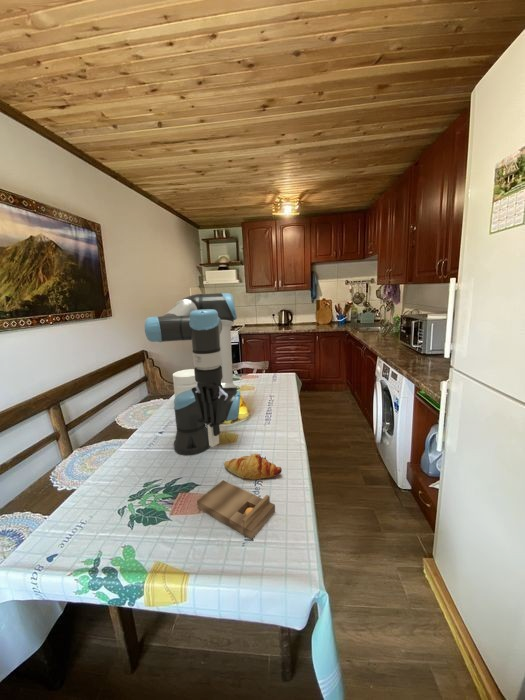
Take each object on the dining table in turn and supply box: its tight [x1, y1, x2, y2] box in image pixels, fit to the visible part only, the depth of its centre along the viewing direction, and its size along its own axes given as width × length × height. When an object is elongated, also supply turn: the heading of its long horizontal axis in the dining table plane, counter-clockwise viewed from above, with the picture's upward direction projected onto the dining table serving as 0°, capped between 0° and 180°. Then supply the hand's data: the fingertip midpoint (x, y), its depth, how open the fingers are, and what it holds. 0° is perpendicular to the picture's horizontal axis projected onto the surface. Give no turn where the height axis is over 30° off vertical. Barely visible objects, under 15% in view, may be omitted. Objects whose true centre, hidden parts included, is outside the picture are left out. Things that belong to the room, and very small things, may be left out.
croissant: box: [223, 453, 282, 480], centre depth 99 cm, size 21×10×8 cm, turn 74°
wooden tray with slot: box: [196, 480, 276, 540], centre depth 82 cm, size 20×11×4 cm, turn 55°
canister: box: [172, 368, 198, 398], centre depth 159 cm, size 16×16×20 cm
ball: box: [244, 508, 253, 516], centre depth 79 cm, size 3×3×3 cm
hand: (214, 444), depth 83 cm, fingers closed
